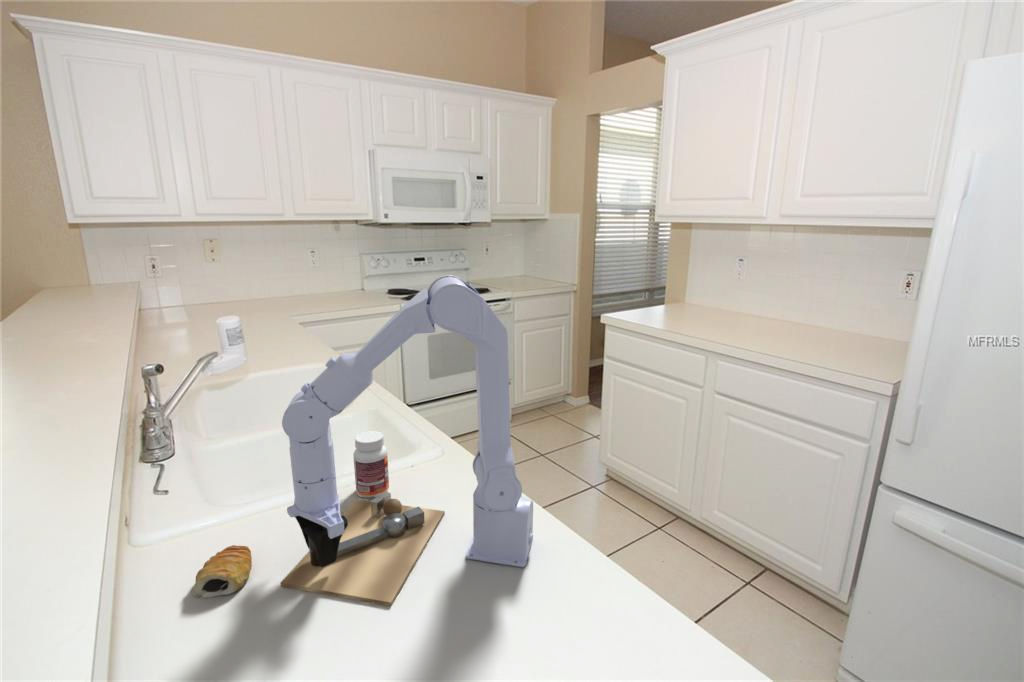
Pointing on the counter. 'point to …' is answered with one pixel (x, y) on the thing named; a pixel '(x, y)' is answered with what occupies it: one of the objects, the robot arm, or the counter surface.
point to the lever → (377, 532)
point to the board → (367, 560)
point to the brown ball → (392, 506)
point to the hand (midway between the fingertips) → (321, 554)
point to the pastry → (224, 572)
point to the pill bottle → (370, 464)
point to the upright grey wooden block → (379, 504)
